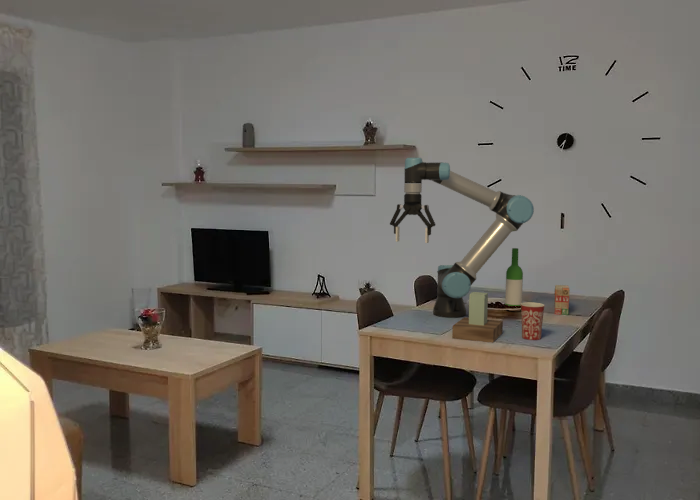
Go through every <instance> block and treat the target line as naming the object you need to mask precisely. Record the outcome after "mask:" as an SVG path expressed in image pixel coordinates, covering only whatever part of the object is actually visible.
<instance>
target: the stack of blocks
mask: <svg viewBox="0 0 700 500" xmlns="http://www.w3.org/2000/svg"><path fill="white" fill-rule="evenodd" d="M554 287H555V288H554V305H553V307H554V315H561V316H562V315H563V316H564V315H565V316H569V307H570V293H571V292H570V290H571V289H570V286H569V285H566V284H565V285H563V284H562V285H561V284H555V285H554Z"/></svg>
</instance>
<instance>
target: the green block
mask: <svg viewBox="0 0 700 500" xmlns="http://www.w3.org/2000/svg"><path fill="white" fill-rule="evenodd" d="M468 300H469V301H468V302H469V303H468V318H469V324H474V325H485V324H486V323H487V320H488V312H489V311H488V304H489V301H488V300H489V293H488V292H480V291H479V292H478V291H472V292H470V293H469V299H468Z"/></svg>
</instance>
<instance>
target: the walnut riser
mask: <svg viewBox="0 0 700 500" xmlns="http://www.w3.org/2000/svg"><path fill="white" fill-rule="evenodd" d="M503 328H504V321H503V320H497V319H495V320H494V319H487V323H486V324H485V325H474V324H469V317H465V316H463V318H461V319H460V320H458V321H457V322H455V324H453V325H452V331H451V333H452V335H451V339H452V340H453V339H454V340H456V339H457V340H462V341H463V340H464V341H474V342H482V343H483V342H484V343H492V344H494V342H495V341H496V340H497V339H498V338H499V337H500V336H501V335H502V334H503V333H504V332H503Z"/></svg>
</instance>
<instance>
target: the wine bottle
mask: <svg viewBox="0 0 700 500" xmlns="http://www.w3.org/2000/svg"><path fill="white" fill-rule="evenodd" d="M523 275H524V272H523V269H522V267H521V266H519V248H516V247H512V248H511V264H510V266H509V267H508V268H507V269H506V272H505V295H504V296H505V297H504V298H505V300H504V306H505V305H508V306H520V305H521V303H523V285H524V284H523V279H524V276H523Z"/></svg>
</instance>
